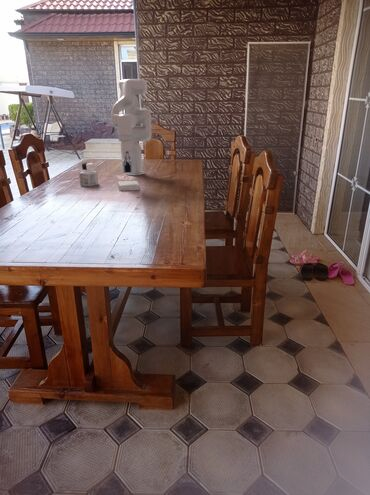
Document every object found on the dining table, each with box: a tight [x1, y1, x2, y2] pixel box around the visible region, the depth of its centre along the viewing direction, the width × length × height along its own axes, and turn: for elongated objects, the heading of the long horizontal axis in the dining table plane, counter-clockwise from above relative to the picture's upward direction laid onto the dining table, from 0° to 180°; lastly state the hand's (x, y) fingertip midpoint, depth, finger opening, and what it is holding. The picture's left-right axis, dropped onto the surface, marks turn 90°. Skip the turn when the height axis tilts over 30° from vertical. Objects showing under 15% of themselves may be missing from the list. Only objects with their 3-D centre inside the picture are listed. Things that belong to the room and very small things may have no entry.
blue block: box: [121, 160, 132, 174], centre depth 211 cm, size 5×5×6 cm
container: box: [78, 162, 99, 187], centre depth 222 cm, size 8×8×13 cm
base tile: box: [117, 180, 140, 192], centre depth 215 cm, size 11×11×3 cm
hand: (127, 170), depth 212 cm, fingers closed on blue block, 5 cm apart
